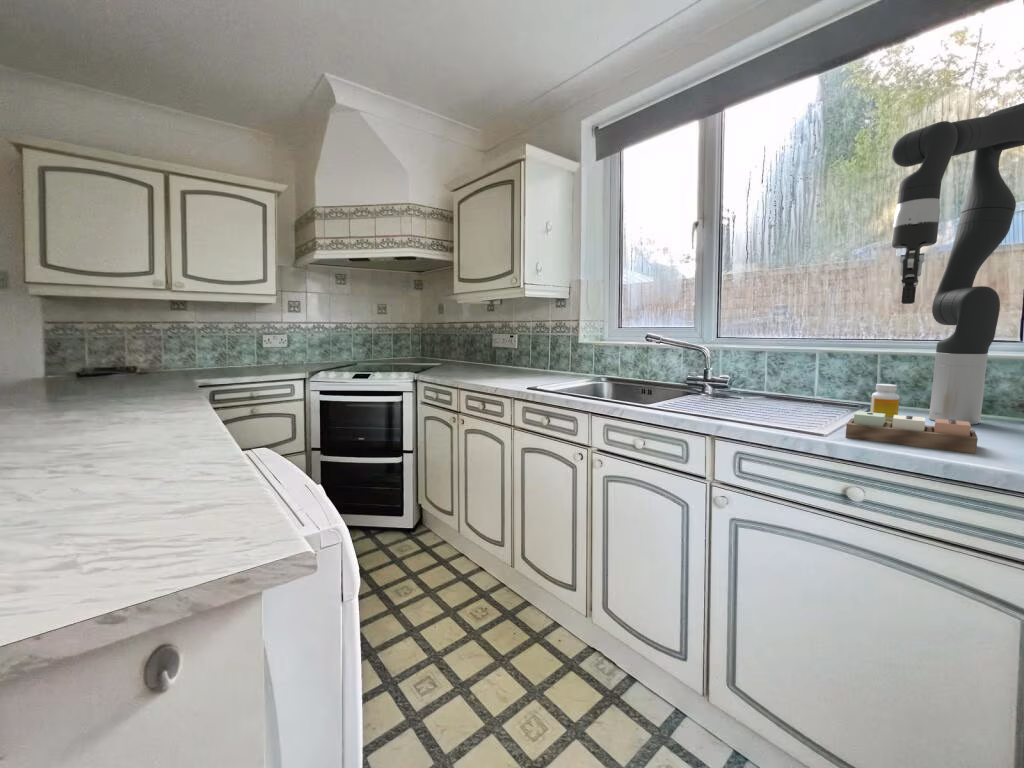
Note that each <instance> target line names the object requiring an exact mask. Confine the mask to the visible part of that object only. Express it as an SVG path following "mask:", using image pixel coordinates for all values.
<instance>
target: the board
mask: <svg viewBox="0 0 1024 768" xmlns="http://www.w3.org/2000/svg"><path fill="white" fill-rule="evenodd" d="M853 423H854V417H851V418H850V419H849V421H848V422H847V423H846V426H845V427H846V428H845V438H847V439H854V438H855V440H862V439H863V441H869V442H870V441H871V442H879V443H886V444H893V443H894V444H895V445H901V444H902V445H903V446H910V447H917V448H925V449H932V450H933V449H934V450H942V451H949V452H958V453H964V454H971V455H972V454H973V455H976V454H977V447H978V439H979V437H978V435H977V433H976V430H974V429H973V430H972V429H970V436H962V435H953V434H944V433H935V432H934V425H926V424H925V428H924V431H917V430H908V429H899V428H892V423H893V422H889V421H885V424H884V427H881V426H872V425H863V424H853Z"/></svg>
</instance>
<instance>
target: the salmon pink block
mask: <svg viewBox="0 0 1024 768" xmlns="http://www.w3.org/2000/svg"><path fill="white" fill-rule="evenodd" d="M933 426H934V432H935V433H944V434H953V435H962V436H970V430H971V426H972V424H970V422H966V421H956V420H945V419H935V420H934V425H933Z"/></svg>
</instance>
